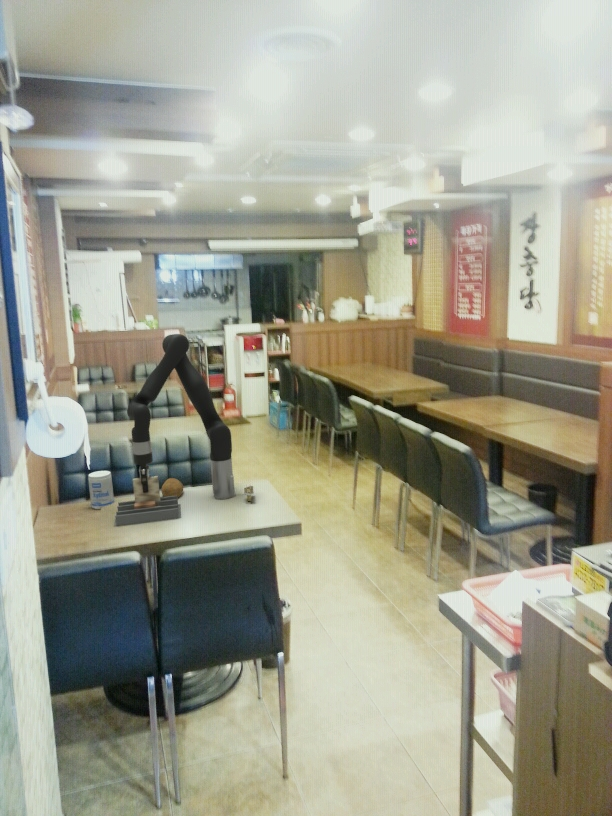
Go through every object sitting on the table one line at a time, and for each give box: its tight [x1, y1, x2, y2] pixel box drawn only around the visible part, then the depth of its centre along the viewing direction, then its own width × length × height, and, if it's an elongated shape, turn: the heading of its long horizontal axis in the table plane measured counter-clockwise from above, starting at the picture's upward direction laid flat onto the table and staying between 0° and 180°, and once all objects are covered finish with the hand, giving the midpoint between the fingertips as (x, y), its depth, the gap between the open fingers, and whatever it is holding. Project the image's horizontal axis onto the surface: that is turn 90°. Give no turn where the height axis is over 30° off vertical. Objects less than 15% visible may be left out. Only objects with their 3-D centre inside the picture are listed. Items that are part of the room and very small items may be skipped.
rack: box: [113, 496, 182, 528], centre depth 254 cm, size 26×16×6 cm, turn 102°
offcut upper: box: [134, 501, 156, 509], centre depth 253 cm, size 8×4×2 cm, turn 102°
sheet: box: [132, 475, 161, 503], centre depth 258 cm, size 10×2×14 cm, turn 102°
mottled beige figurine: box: [243, 484, 255, 504], centre depth 269 cm, size 12×18×7 cm, turn 6°
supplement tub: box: [87, 470, 115, 510], centre depth 270 cm, size 10×10×15 cm
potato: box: [160, 477, 184, 498], centre depth 276 cm, size 10×14×8 cm
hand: (146, 489), depth 258 cm, fingers open, 8 cm apart
